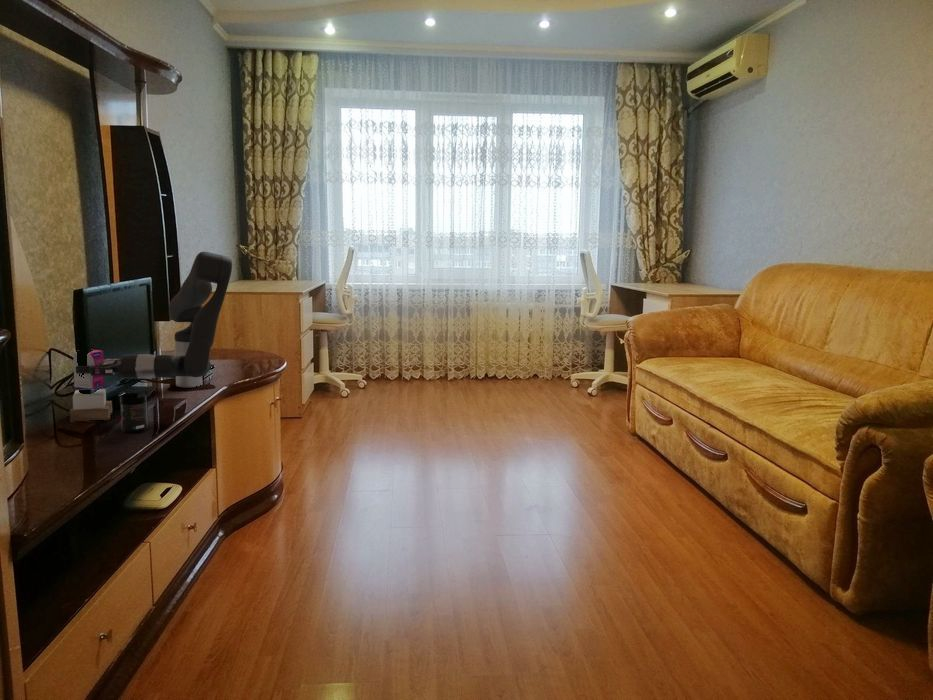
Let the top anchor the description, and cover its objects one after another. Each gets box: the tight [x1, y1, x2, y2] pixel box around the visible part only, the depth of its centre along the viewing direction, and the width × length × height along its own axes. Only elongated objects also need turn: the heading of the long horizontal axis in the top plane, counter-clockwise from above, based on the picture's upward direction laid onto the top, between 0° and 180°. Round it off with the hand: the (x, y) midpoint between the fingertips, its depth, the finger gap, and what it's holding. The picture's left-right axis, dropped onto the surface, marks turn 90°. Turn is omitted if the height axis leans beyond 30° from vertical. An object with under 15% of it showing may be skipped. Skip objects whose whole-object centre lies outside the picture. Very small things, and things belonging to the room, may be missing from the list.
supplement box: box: [72, 349, 105, 390], centre depth 192 cm, size 6×6×12 cm
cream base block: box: [69, 400, 113, 423], centre depth 194 cm, size 10×10×4 cm
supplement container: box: [119, 392, 148, 434], centre depth 182 cm, size 7×7×10 cm
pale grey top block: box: [72, 388, 107, 410], centre depth 193 cm, size 8×8×4 cm
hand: (81, 366), depth 191 cm, fingers closed on supplement box, 7 cm apart
